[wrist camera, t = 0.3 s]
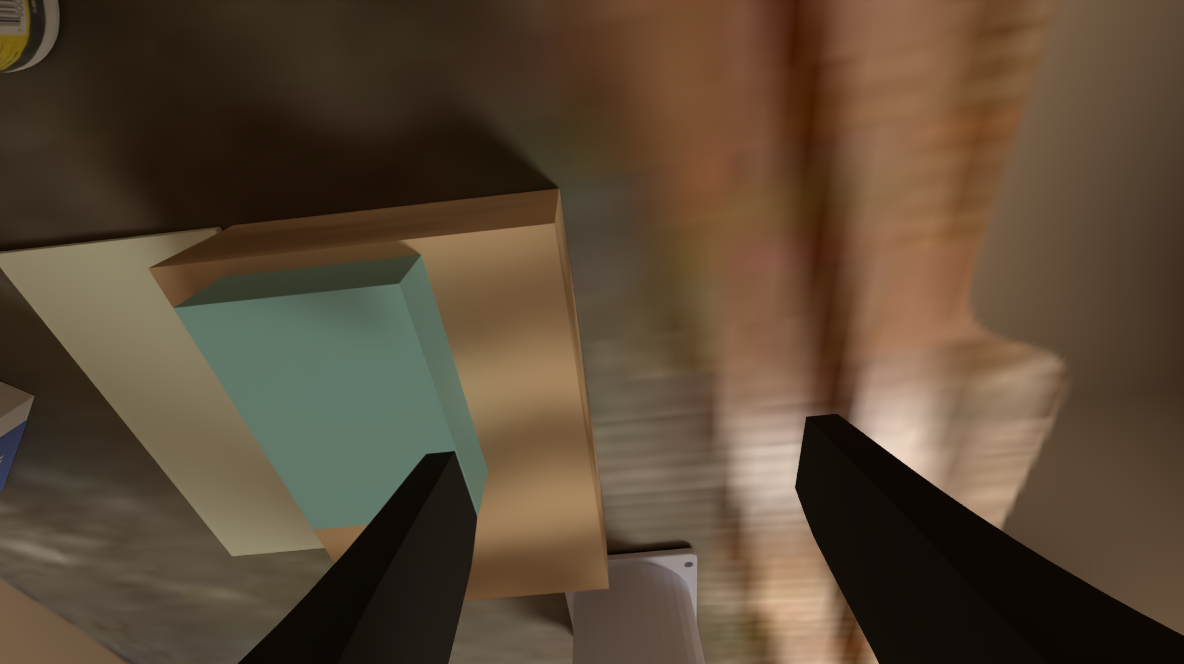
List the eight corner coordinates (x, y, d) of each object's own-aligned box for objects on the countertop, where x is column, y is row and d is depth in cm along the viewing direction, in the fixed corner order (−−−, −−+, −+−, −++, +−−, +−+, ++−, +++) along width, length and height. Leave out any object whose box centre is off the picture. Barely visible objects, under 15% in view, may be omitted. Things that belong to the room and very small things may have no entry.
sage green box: (488, 471, 18) (478, 514, 17) (337, 485, 19) (312, 529, 17) (421, 254, 14) (398, 283, 12) (222, 276, 14) (173, 307, 12)
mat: (382, 537, 26) (380, 542, 26) (235, 551, 27) (232, 556, 26) (220, 226, 17) (214, 229, 17) (-2, 252, 18) (-11, 254, 17)
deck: (604, 517, 26) (608, 588, 23) (391, 537, 26) (363, 609, 23) (559, 188, 17) (554, 223, 13) (233, 225, 17) (147, 268, 14)
